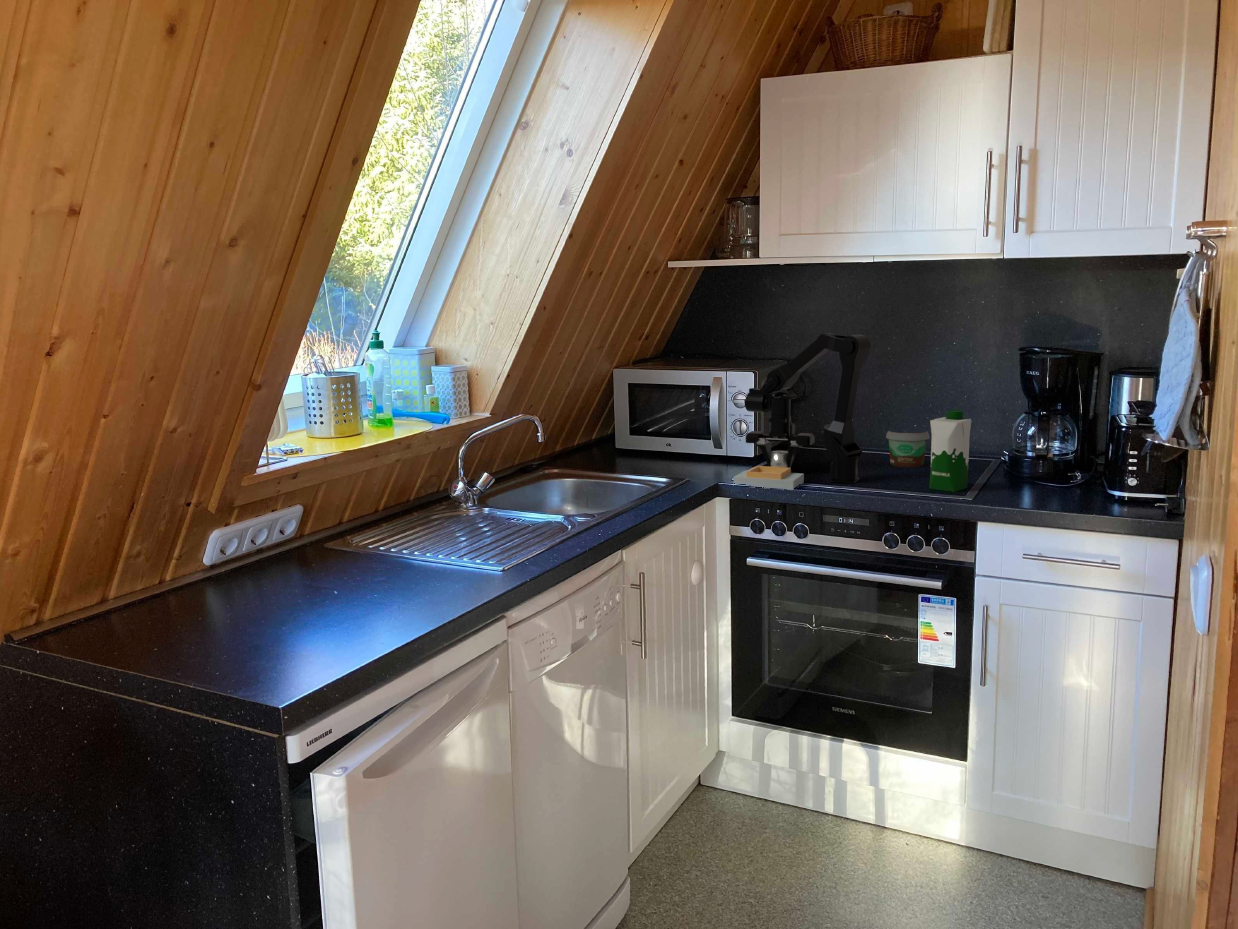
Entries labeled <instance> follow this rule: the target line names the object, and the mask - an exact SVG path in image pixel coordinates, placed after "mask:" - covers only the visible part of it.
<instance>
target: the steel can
mask: <svg viewBox="0 0 1238 929" xmlns="http://www.w3.org/2000/svg"><path fill="white" fill-rule="evenodd" d="M770 467H786V468H788V450H771V457H770Z"/></svg>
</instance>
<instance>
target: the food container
mask: <svg viewBox="0 0 1238 929" xmlns="http://www.w3.org/2000/svg"><path fill="white" fill-rule="evenodd" d="M885 438H886V439H888V449H889V460H890V465H891V466H893V467H899V468H919V467H923V466H924V464H925V457H926V451H927V442H928V440H929V439H930V433H929V431H928V430H927V431H925V432H917V433H916V432H909V431H908V432H894V431H890V430H888V431H887V432H886V436H885Z"/></svg>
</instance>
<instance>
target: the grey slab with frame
mask: <svg viewBox="0 0 1238 929" xmlns="http://www.w3.org/2000/svg"><path fill="white" fill-rule="evenodd" d="M804 480H805V474H804V473H799V472H798V473H797V472H792V469H791V468H786V467H769V466H768V465H767V466H766V465H765V466H764V465H756V466H755V467H753V468H751V469H746V470H743V471H741V472H740V473H738V474H736V475H734V476H733V484H734V483H735V484H746V485H751V486H757V487H758V486H759V487H762V488H761V489H770V488H781V489H780V490H784V489H788V490H787V491H794V490H795V489H794V488H795V487H796V486H797V485H799V484H801V485H803V484H804V483H805V481H804ZM763 487H764V488H763ZM765 487H766V488H765ZM782 488H783V489H782ZM789 489H790V490H789Z"/></svg>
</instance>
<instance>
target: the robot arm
mask: <svg viewBox="0 0 1238 929" xmlns="http://www.w3.org/2000/svg"><path fill="white" fill-rule="evenodd" d="M871 347H872V343H871V340H870V339H869V338H868V336H866V335H864V334H851V335H843V334H835V333H832V332H828V333H827V332H826V333H821V334H819V335H818V336H817V338H816V339H815V340H814V341H812V342H811V343H810V344H809V345H807V347H805V348H804V349H803V350H802V351H800V352H799V353H798V354H797V355H796V356H794V358H792V359H791V360H789V361H788V362H786V363H784V364H781V365H780V366H778V367H776V368H773V369H772V370H771V371H769V372H768V373H767V375H766V380H765V381H764V383H763V384H762V386H761V387H760V388H757V387H750V388H748V393H747V394H746V396H745V400H744V408H745V410H746V411H747V412H750V413H751V412H752V413H763V414H764V413H768V412H769V418H768V423H769V432H768V434H765V431H764V430H763V431H761V430H758V431H757V430H751V431H749V432H747V433H746V435H745V443H746V444H755V447H758V448H759V449H760V451H761V453H762V454H763V457H764V459H765V461H766V464H767V466H769V467H770V457H771V451H772V442H780V443H781V442H782V443H790V445H788V446H787V448H788V449H787V451H788V468H791V467H792V465H793V462H794V459H795V456H796V454H797V452H798V450H799V449H800V448H802V447H810V446H812V445H814V444H815V442H816V441H815V438H816V437H815V435H814V434H813V433H807V432H806V433H805V432H800V433H798V434H797V435H795V434H796V424H795V423H793V422H792V416H791V400H793V399H797V398H798V395H797V394H796V393H795V392H794V391H793V389H791V388H792V387H793V386H794V385H795V384H796V383H797V381H798V380H799V378H800V376H801V374H802V373H803V372H804V371H805V370H806V369H807V368H809V367H810V366H811V365H813V363H815V362H816V361H817V360H818V359H820V357H822V356H823V355H824V354H826V353H827V352H828V351H829V350H830V351H832V352H837V353H838V359H839V361H840V362H839V363H840V365H841V373H840V378H839V384H838V389H837V397H836V403H835V408H834V409H835V410H834V417H833V419H832V421H831V423H829V424H825V425H824V427H823V436H822V437H821V440H822V441H823V447H824V449H825V450H826V451H827V452H826V453H827V454H828V458H829V460H830V461H832V462H831V463H830V466H829V469H830V470H829V471H830V473H829V474H830V475H829V476H830V477H829V478H830V483H842V484H843V483H844V484H855V483H856V482H858V481H859V480H860V477H858V473H859V458H861V457H862V454H863V449H862V448H861V447H860V445H859V444H858V443H857V441H856V440H855V428H854V424H853V414H854V409H855V403H856V398H857V397H856V395H857V390H858V385H859V378H860V373H861V370H862V368H863V366H864V364H865V362H866V361H867V359H868V356H869V353H870V350H871ZM783 390H786V391H784V392H782V391H783ZM773 393H775V394H773Z"/></svg>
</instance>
